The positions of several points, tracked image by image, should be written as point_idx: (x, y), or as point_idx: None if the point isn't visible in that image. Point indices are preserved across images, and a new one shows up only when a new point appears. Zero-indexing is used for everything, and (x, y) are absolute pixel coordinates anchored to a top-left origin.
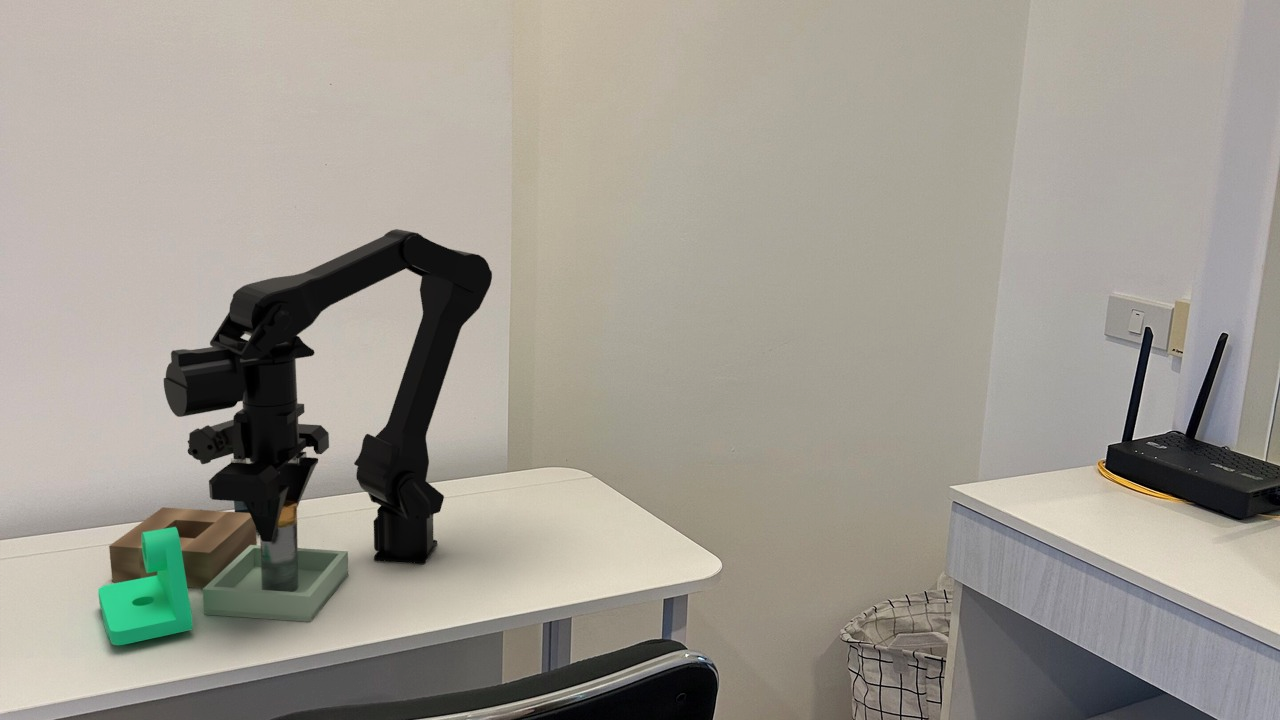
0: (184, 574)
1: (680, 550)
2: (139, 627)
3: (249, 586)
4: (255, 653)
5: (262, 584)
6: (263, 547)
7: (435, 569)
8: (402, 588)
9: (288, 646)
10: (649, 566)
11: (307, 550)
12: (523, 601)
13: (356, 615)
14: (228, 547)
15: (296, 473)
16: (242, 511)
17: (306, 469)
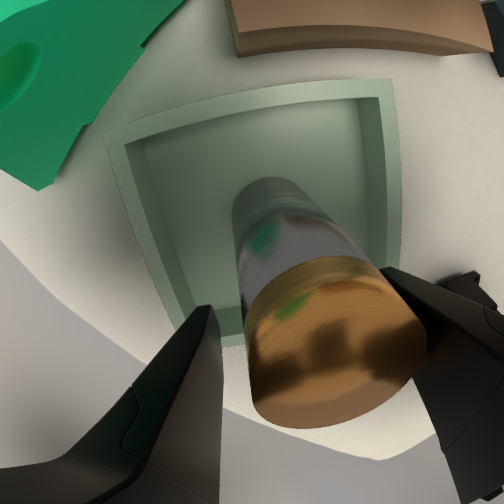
0: (3, 168)
1: (415, 442)
2: None
3: (256, 145)
4: (82, 296)
5: (239, 199)
6: (242, 255)
7: None
8: None
9: (119, 324)
10: (392, 446)
11: (391, 236)
12: (324, 436)
13: (240, 356)
14: (353, 33)
15: (473, 467)
16: (499, 14)
17: (463, 493)
